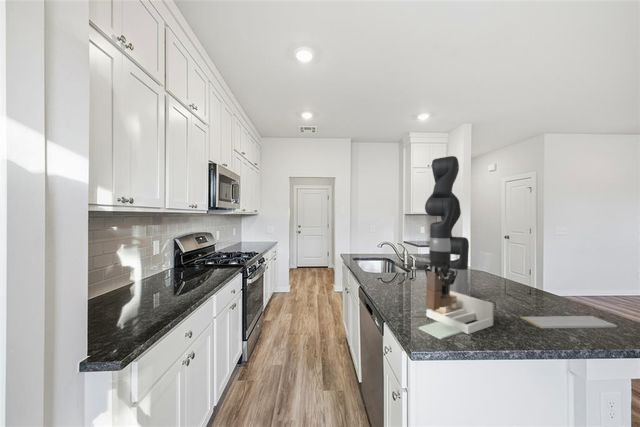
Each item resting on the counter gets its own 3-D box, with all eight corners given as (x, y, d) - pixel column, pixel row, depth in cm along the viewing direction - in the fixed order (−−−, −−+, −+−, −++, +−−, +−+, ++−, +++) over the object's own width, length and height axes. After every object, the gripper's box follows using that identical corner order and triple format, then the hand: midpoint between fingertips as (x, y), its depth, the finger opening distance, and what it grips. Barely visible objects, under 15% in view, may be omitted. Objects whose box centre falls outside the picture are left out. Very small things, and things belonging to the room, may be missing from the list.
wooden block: (425, 307, 100) (427, 260, 99) (442, 302, 105) (444, 258, 104) (434, 310, 96) (435, 262, 96) (451, 305, 102) (453, 260, 101)
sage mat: (439, 322, 108) (439, 321, 108) (461, 332, 99) (461, 330, 99) (418, 328, 102) (418, 327, 102) (440, 339, 93) (440, 337, 93)
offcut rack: (450, 309, 122) (450, 290, 122) (493, 325, 105) (493, 303, 105) (426, 316, 114) (426, 296, 114) (468, 334, 98) (468, 310, 98)
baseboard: (517, 317, 115) (541, 330, 103) (517, 311, 114) (541, 322, 102) (585, 316, 115) (617, 329, 103) (585, 310, 115) (617, 321, 103)
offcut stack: (448, 312, 119) (448, 293, 119) (458, 316, 115) (458, 296, 115) (435, 316, 115) (435, 295, 115) (445, 320, 110) (445, 299, 110)
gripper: (463, 251, 96) (463, 297, 96) (431, 246, 109) (431, 287, 109) (450, 252, 93) (450, 300, 93) (418, 247, 105) (418, 289, 105)
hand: (439, 293), depth 101 cm, fingers closed on wooden block, 3 cm apart
